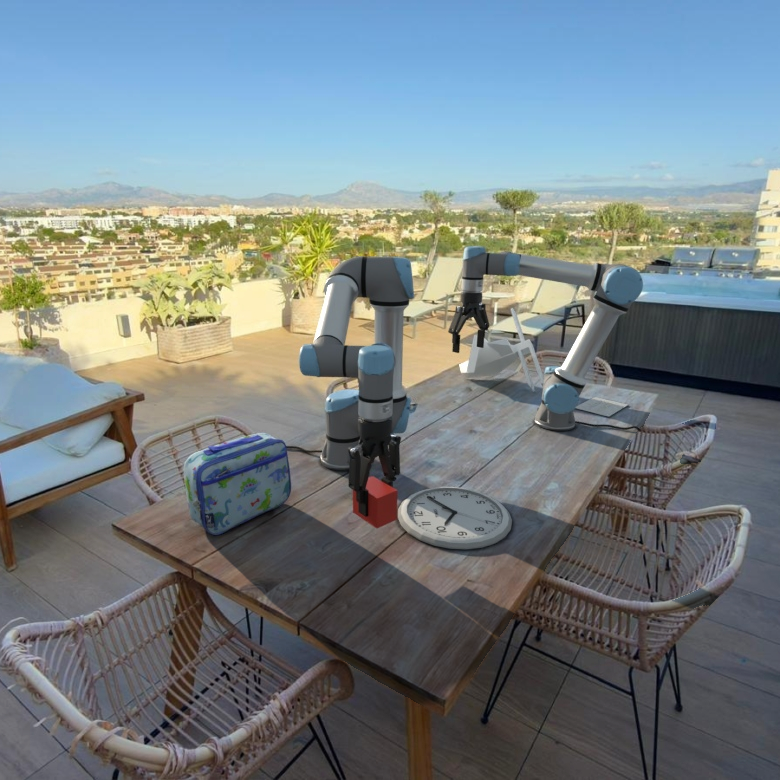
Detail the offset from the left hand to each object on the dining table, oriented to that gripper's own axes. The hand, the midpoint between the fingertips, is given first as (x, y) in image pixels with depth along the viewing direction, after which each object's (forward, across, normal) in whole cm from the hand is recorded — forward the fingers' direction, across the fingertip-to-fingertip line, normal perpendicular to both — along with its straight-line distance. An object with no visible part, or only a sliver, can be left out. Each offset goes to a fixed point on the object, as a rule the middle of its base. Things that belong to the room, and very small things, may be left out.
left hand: (374, 508), depth 122 cm
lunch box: (+10, -18, +32) cm, 38 cm away
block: (+2, 0, 0) cm, 2 cm away
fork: (+11, +76, +69) cm, 103 cm away
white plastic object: (+11, +131, +65) cm, 147 cm away
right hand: (-20, +76, +39) cm, 88 cm away
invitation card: (+11, +141, +17) cm, 142 cm away
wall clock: (+10, +25, -3) cm, 27 cm away
